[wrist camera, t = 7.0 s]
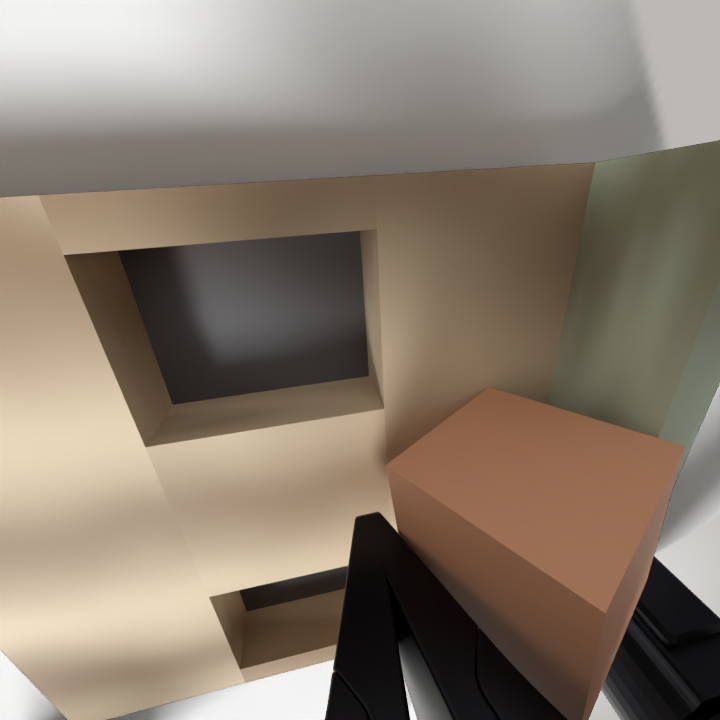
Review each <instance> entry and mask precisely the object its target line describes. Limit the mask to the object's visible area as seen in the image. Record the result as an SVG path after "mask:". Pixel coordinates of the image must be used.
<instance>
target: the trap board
mask: <svg viewBox="0 0 720 720" xmlns="http://www.w3.org/2000/svg"><path fill="white" fill-rule="evenodd" d="M719 383H720V140H719V141H714V142H708V143H702V144H697V145H691V146H685V147H680V148H674V149H668V150H663V151H657V152H651V153H646V154H640V155H634V156H629V157H623V158H617V159H612V160H606V161H601V162H594V163H577V164H560V165H543V166H526V167H509V168H492V169H475V170H458V171H441V172H424V173H407V174H390V175H373V176H356V177H339V178H322V179H305V180H288V181H271V182H254V183H237V184H220V185H203V186H186V187H169V188H152V189H135V190H118V191H101V192H84V193H67V194H50V195H33V196H16V197H0V650H1V651H2V652H3V653H4V655H5V656H6V657H7V658H8V659H9V660H10V661H11V662H12V663H13V664H14V665H15V666H16V667H17V668H18V669H19V670H20V671H21V672H22V673H23V674H24V675H25V676H26V677H27V678H28V679H29V680H30V681H31V682H32V683H33V684H34V685H35V687H36V688H37V689H38V690H39V691H40V692H41V693H42V694H43V695H44V696H45V697H46V698H47V699H48V700H49V701H50V702H51V703H52V704H53V705H54V706H55V707H56V708H57V709H58V710H59V711H60V712H61V713H62V714H63V715H64V716H65V718H66V719H67V720H108V719H111V718H115V717H119V716H123V715H126V714H130V713H134V712H138V711H141V710H145V709H149V708H153V707H157V706H160V705H164V704H168V703H172V702H175V701H179V700H183V699H187V698H190V697H194V696H198V695H202V694H206V693H209V692H213V691H217V690H221V689H224V688H228V687H232V686H236V685H239V684H243V683H247V682H251V681H255V680H258V679H262V678H266V677H270V676H273V675H277V674H281V673H285V672H288V671H292V670H296V669H300V668H304V667H307V666H311V665H315V664H319V663H322V662H326V661H330V660H334V659H335V653H336V646H337V639H338V632H339V625H340V618H341V612H342V605H343V598H344V591H345V584H346V577H347V570H348V563H349V557H350V550H351V543H352V536H353V529H354V522H355V518H356V517H357V516H360V515H365V514H369V513H373V512H380V513H381V514H382V515H383V516H384V517H385V518H386V520H387V521H388V522H389V523H390V524H391V525H392V527H393V528H394V529H395V530H396V531H397V532H398V529H397V524H396V518H395V513H394V508H393V502H392V497H391V491H390V486H389V480H388V475H387V470H386V465H387V464H388V463H389V462H391V461H392V460H393V459H395V458H396V457H397V456H398V455H400V454H401V453H402V452H404V451H405V450H406V449H408V448H409V447H410V446H412V445H413V444H414V443H416V442H417V441H418V440H420V439H421V438H422V437H424V436H425V435H426V434H428V433H429V432H430V431H432V430H433V429H434V428H435V427H437V426H438V425H439V424H441V423H442V422H443V421H445V420H446V419H447V418H449V417H450V416H451V415H453V414H454V413H455V412H457V411H458V410H459V409H461V408H462V407H463V406H465V405H466V404H467V403H469V402H470V401H471V400H472V399H474V398H475V397H476V396H478V395H479V394H480V393H482V392H483V391H484V390H486V389H487V388H488V387H491V388H494V389H498V390H501V391H504V392H508V393H511V394H514V395H517V396H521V397H524V398H527V399H531V400H534V401H537V402H541V403H544V404H547V405H550V406H554V407H557V408H560V409H564V410H567V411H570V412H573V413H577V414H580V415H583V416H587V417H590V418H593V419H597V420H600V421H603V422H606V423H610V424H613V425H616V426H620V427H623V428H626V429H630V430H633V431H636V432H639V433H643V434H646V435H649V436H653V437H656V438H659V439H662V440H666V441H669V442H672V443H676V444H679V445H682V446H685V448H684V452H683V455H682V459H681V462H680V466H679V469H678V473H677V476H676V480H677V478H678V476H679V474H680V471H681V469H682V467H683V465H684V462H685V460H686V458H687V456H688V453H689V451H690V449H691V447H692V444H693V442H694V440H695V438H696V435H697V433H698V431H699V428H700V426H701V424H702V422H703V419H704V417H705V415H706V413H707V410H708V408H709V406H710V404H711V401H712V399H713V397H714V395H715V392H716V390H717V388H718V386H719ZM676 480H675V483H676ZM675 483H674V485H675Z"/></svg>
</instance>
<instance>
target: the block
mask: <svg viewBox="0 0 720 720" xmlns="http://www.w3.org/2000/svg"><path fill="white" fill-rule="evenodd" d="M684 448H685V446H682V445H679V444H676V443H672V442H669V441H666V440H662V439H659V438H656V437H653V436H649V435H646V434H643V433H639V432H636V431H633V430H630V429H626V428H623V427H620V426H616V425H613V424H610V423H606V422H603V421H600V420H597V419H593V418H590V417H587V416H583V415H580V414H577V413H573V412H570V411H567V410H564V409H560V408H557V407H554V406H550V405H547V404H544V403H541V402H537V401H534V400H531V399H527V398H524V397H521V396H517V395H514V394H511V393H508V392H504V391H501V390H498V389H494V388H491V387H488V388H487V389H486V390H484V391H483V392H482V393H480V394H479V395H478V396H476V397H475V398H474V399H472V400H471V401H470V402H469V403H467V404H466V405H465V406H463V407H462V408H461V409H459V410H458V411H457V412H455V413H454V414H453V415H451V416H450V417H449V418H447V419H446V420H445V421H443V422H442V423H441V424H439V425H438V426H437V427H435V428H434V429H433V430H432V431H430V432H429V433H428V434H426V435H425V436H424V437H422V438H421V439H420V440H418V441H417V442H416V443H414V444H413V445H412V446H410V447H409V448H408V449H406V450H405V451H404V452H402V453H401V454H400V455H398V456H397V457H396V458H395V459H393V460H392V461H391V462H389V463H388V464H387V465H386V470H387V475H388V480H389V486H390V491H391V497H392V502H393V508H394V513H395V518H396V524H397V529H398V533H399V535H400V536H401V537H402V538H403V539H404V540H405V542H406V543H407V544H408V545H409V546H410V547H411V549H412V550H413V551H414V552H415V553H416V554H417V555H418V557H419V558H420V559H421V560H422V561H423V562H424V564H425V565H426V566H427V567H428V568H429V569H430V571H431V572H432V573H433V574H434V575H435V576H436V577H437V579H438V580H439V581H440V582H441V583H442V584H443V586H444V587H445V588H446V589H447V590H448V591H449V593H450V594H451V595H452V596H453V597H454V598H455V599H456V601H457V602H458V603H459V604H460V605H461V606H462V608H463V609H464V610H465V611H466V612H467V613H468V615H469V616H470V617H471V618H472V619H473V620H474V621H475V623H476V624H477V625H478V629H479V628H480V629H482V630H483V632H484V633H485V634H486V635H487V636H488V637H489V639H490V640H491V641H492V642H493V643H494V644H495V645H496V647H497V648H498V649H499V650H500V651H501V652H502V653H503V654H504V655H505V657H506V658H507V659H508V660H509V661H510V662H511V663H512V664H513V665H514V666H515V668H516V669H517V670H518V671H519V672H520V673H521V674H522V675H523V676H524V677H525V678H526V679H527V680H528V681H529V682H530V683H531V684H532V685H533V686H534V687H535V688H536V689H537V690H538V691H539V692H540V693H541V694H542V695H543V696H544V697H545V698H546V699H547V700H548V701H549V702H550V703H551V704H552V705H553V706H554V707H555V708H556V709H558V710H559V711H560V712H561V713H562V714H563V715H564V716H565V717H566V718H567V719H568V720H588V719H589V717H590V714H591V712H592V710H593V707H594V705H595V702H596V700H597V698H598V695H599V693H600V691H601V688H602V686H603V684H604V681H605V679H606V676H607V674H608V672H609V669H610V667H611V664H612V662H613V660H614V657H615V655H616V653H617V650H618V648H619V645H620V643H621V641H622V638H623V636H624V634H625V631H626V629H627V626H628V624H629V622H630V619H631V617H632V615H633V612H634V610H635V607H636V605H637V603H638V600H639V598H640V595H641V593H642V591H643V588H644V586H645V584H646V581H647V578H648V575H649V571H650V568H651V564H652V561H653V557H654V553H655V550H656V546H657V543H658V539H659V536H660V532H661V529H662V525H663V522H664V518H665V515H666V511H667V508H668V504H669V501H670V497H671V494H672V490H673V487H674V483H675V480H676V476H677V473H678V469H679V466H680V462H681V459H682V455H683V452H684Z"/></svg>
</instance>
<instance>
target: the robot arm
mask: <svg viewBox="0 0 720 720" xmlns="http://www.w3.org/2000/svg"><path fill="white" fill-rule="evenodd" d="M658 540H659V539H658ZM333 670H334V672H333V674H332V679H331V686H330V693H329V699H328V705H327V711H326V717H325V720H410V716H409V710H408V704H407V698H406V691H405V684H404V679H405V682H406V685H407V688H408V692H409V695H410V698H411V701H412V704H413V707H414V710H415V713H416V716H417V719H418V720H568V719H567V718H566V717H565V716H564V715H563V714H562V713H561V712H560V711H559V710H558V709H556V708H555V707H554V706H553V705H552V704H551V703H550V702H549V701H548V700H547V699H546V698H545V697H544V696H543V695H542V694H541V693H540V692H539V691H538V690H537V689H536V688H535V687H534V686H533V685H532V684H531V683H530V682H529V681H528V680H527V679H526V678H525V677H524V676H523V675H522V674H521V673H520V672H519V671H518V670H517V669H516V668H515V666H514V665H513V664H512V663H511V662H510V661H509V660H508V659H507V658H506V657H505V655H504V654H503V653H502V652H501V651H500V650H499V649H498V648H497V647H496V645H495V644H494V643H493V642H492V641H491V640H490V639H489V637H488V636H487V635H486V634H485V633H484V632H483V630H482V629H480V628H479V629H478V625H477V624H476V623H475V621H474V620H473V619H472V618H471V617H470V616H469V615H468V613H467V612H466V611H465V610H464V609H463V608H462V606H461V605H460V604H459V603H458V602H457V601H456V599H455V598H454V597H453V596H452V595H451V594H450V593H449V591H448V590H447V589H446V588H445V587H444V586H443V584H442V583H441V582H440V581H439V580H438V579H437V577H436V576H435V575H434V574H433V573H432V572H431V571H430V569H429V568H428V567H427V566H426V565H425V564H424V562H423V561H422V560H421V559H420V558H419V557H418V555H417V554H416V553H415V552H414V551H413V550H412V549H411V547H410V546H409V545H408V544H407V543H406V542H405V540H404V539H403V538H402V537H401V536H400V535H399V533H398V532H397V531H396V530H395V529H394V528H393V527H392V525H391V524H390V523H389V522H388V521H387V520H386V518H385V517H384V516H383V515H382V514H381V513H380V512H373V513H369V514H365V515H360V516H357V517H356V518H355V522H354V529H353V536H352V543H351V550H350V557H349V563H348V570H347V577H346V584H345V591H344V598H343V605H342V612H341V618H340V625H339V632H338V639H337V646H336V653H335V660H334V667H333ZM403 676H404V678H403ZM601 690H602V692H603V693H604V695H605V696H606V698H607V699H608V701H609V702H610V704H611V705H612V707H613V709H614V710H615V712H616V713H617V715H618V716H619V718H620V719H621V720H720V618H719V617H718V616H717V615H716V614H714V612H713V611H712V610H711V609H710V608H709V607H707V606H706V605H705V604H704V603H703V602H702V601H701V600H700V599H699V598H698V597H697V596H696V595H695V594H694V593H693V592H691V590H689V589H688V588H687V587H686V586H685V585H684V584H683V583H682V582H681V581H680V580H679V579H678V578H677V577H675V575H674V574H672V573H671V572H670V571H669V570H668V569H667V568H666V567H665V566H664V565H663V564H662V563H661V562H660V561H659V560H658V559H657V558H656V557H655V556H654V557H653V561H652V564H651V568H650V571H649V575H648V578H647V581H646V584H645V586H644V588H643V591H642V593H641V595H640V598H639V600H638V603H637V605H636V607H635V610H634V612H633V615H632V617H631V619H630V622H629V624H628V626H627V629H626V631H625V634H624V636H623V638H622V641H621V643H620V645H619V648H618V650H617V653H616V655H615V657H614V660H613V662H612V664H611V667H610V669H609V672H608V674H607V676H606V679H605V681H604V684H603V686H602V688H601Z"/></svg>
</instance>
